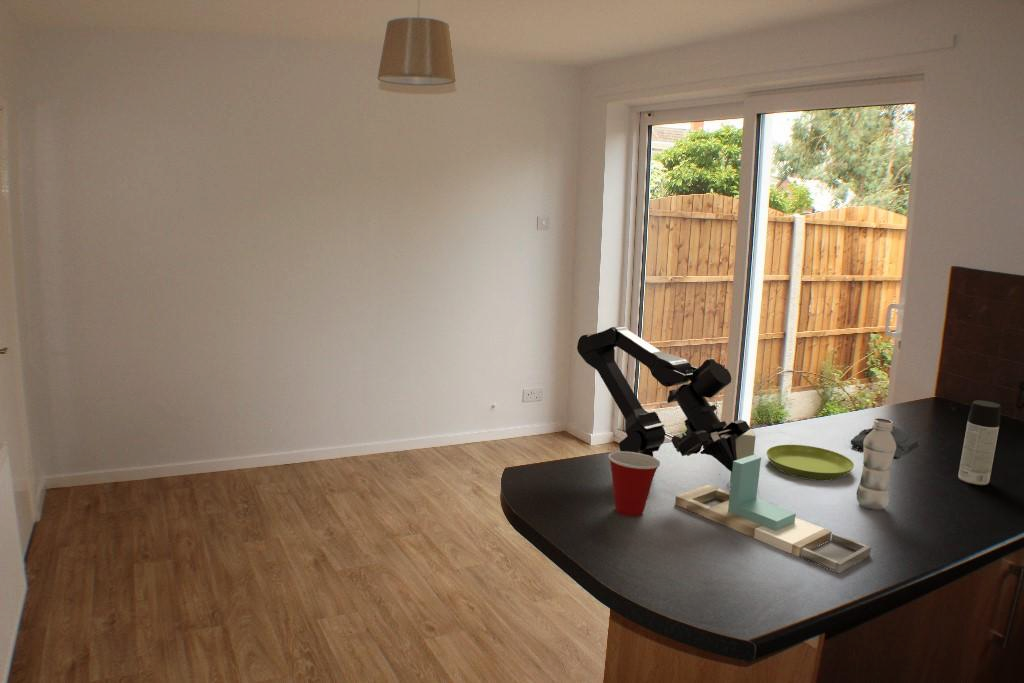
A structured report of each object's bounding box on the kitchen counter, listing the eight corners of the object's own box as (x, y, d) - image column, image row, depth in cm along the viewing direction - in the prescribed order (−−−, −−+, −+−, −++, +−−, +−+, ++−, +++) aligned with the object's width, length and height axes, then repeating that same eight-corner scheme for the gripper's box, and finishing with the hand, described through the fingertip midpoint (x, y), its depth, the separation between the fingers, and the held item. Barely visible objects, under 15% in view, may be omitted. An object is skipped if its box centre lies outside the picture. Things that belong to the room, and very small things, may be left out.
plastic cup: (666, 512, 156) (670, 458, 154) (636, 526, 149) (640, 470, 147) (624, 496, 164) (628, 445, 162) (593, 509, 156) (597, 455, 154)
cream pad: (754, 537, 146) (755, 528, 146) (786, 523, 154) (787, 514, 153) (791, 553, 140) (792, 544, 140) (823, 537, 148) (824, 528, 147)
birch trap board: (675, 504, 161) (675, 495, 160) (708, 492, 168) (709, 484, 168) (838, 573, 133) (840, 563, 133) (869, 555, 141) (871, 546, 140)
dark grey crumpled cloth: (839, 447, 207) (841, 431, 206) (865, 432, 223) (867, 417, 222) (898, 462, 197) (901, 445, 196) (921, 445, 213) (923, 429, 212)
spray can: (991, 481, 184) (1005, 403, 181) (985, 488, 179) (999, 408, 176) (961, 473, 189) (974, 398, 185) (954, 480, 184) (967, 402, 180)
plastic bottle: (874, 515, 160) (887, 426, 156) (848, 503, 166) (860, 417, 162) (894, 510, 163) (907, 423, 159) (867, 499, 169) (879, 415, 165)
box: (750, 489, 172) (756, 436, 169) (731, 487, 172) (736, 434, 170) (748, 481, 177) (754, 429, 174) (729, 479, 178) (734, 427, 175)
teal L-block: (727, 511, 153) (733, 461, 151) (747, 504, 158) (752, 454, 156) (775, 530, 145) (782, 477, 143) (794, 522, 150) (801, 470, 148)
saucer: (798, 451, 202) (799, 440, 201) (869, 476, 185) (871, 464, 184) (748, 463, 190) (749, 451, 190) (819, 490, 174) (820, 477, 173)
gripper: (699, 421, 173) (735, 480, 166) (646, 434, 161) (683, 498, 155) (731, 396, 165) (770, 457, 159) (679, 407, 154) (719, 474, 147)
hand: (735, 472), depth 155 cm, fingers closed
